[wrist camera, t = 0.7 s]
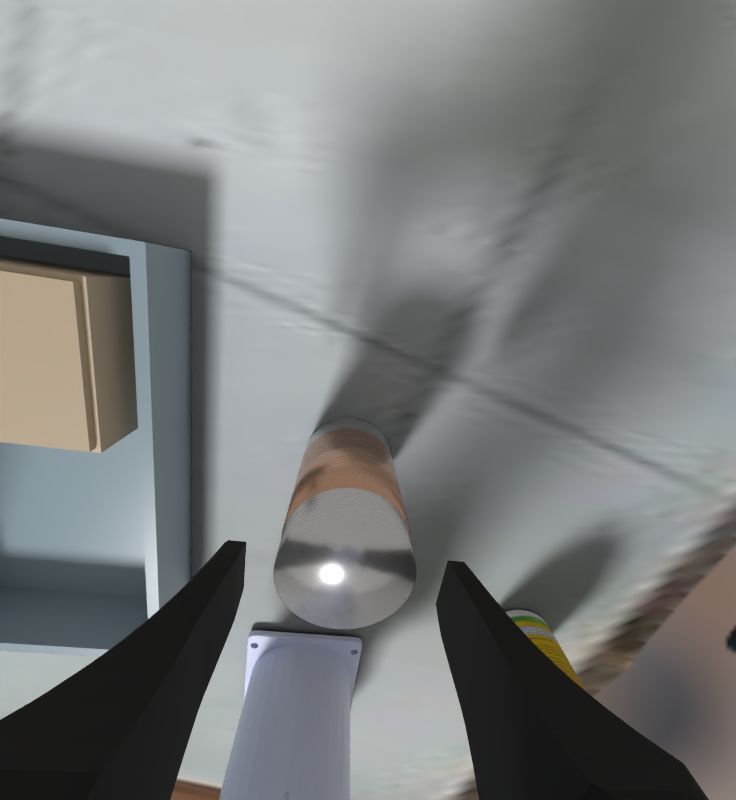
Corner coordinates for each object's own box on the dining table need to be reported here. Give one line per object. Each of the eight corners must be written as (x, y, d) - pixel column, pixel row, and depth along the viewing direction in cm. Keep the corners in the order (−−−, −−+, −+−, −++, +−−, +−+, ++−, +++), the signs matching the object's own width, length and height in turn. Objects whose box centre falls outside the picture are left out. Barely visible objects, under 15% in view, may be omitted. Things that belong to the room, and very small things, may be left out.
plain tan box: (157, 414, 19) (95, 457, 14) (-25, 392, 18) (-154, 429, 13) (153, 278, 17) (78, 276, 12) (-54, 246, 16) (-218, 231, 11)
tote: (191, 600, 24) (160, 660, 20) (-2, 585, 23) (-73, 646, 19) (191, 251, 17) (145, 241, 13) (-83, 206, 16) (-218, 182, 12)
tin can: (382, 498, 22) (403, 634, 13) (300, 489, 21) (267, 625, 13) (397, 422, 20) (431, 523, 12) (309, 411, 20) (277, 507, 11)
